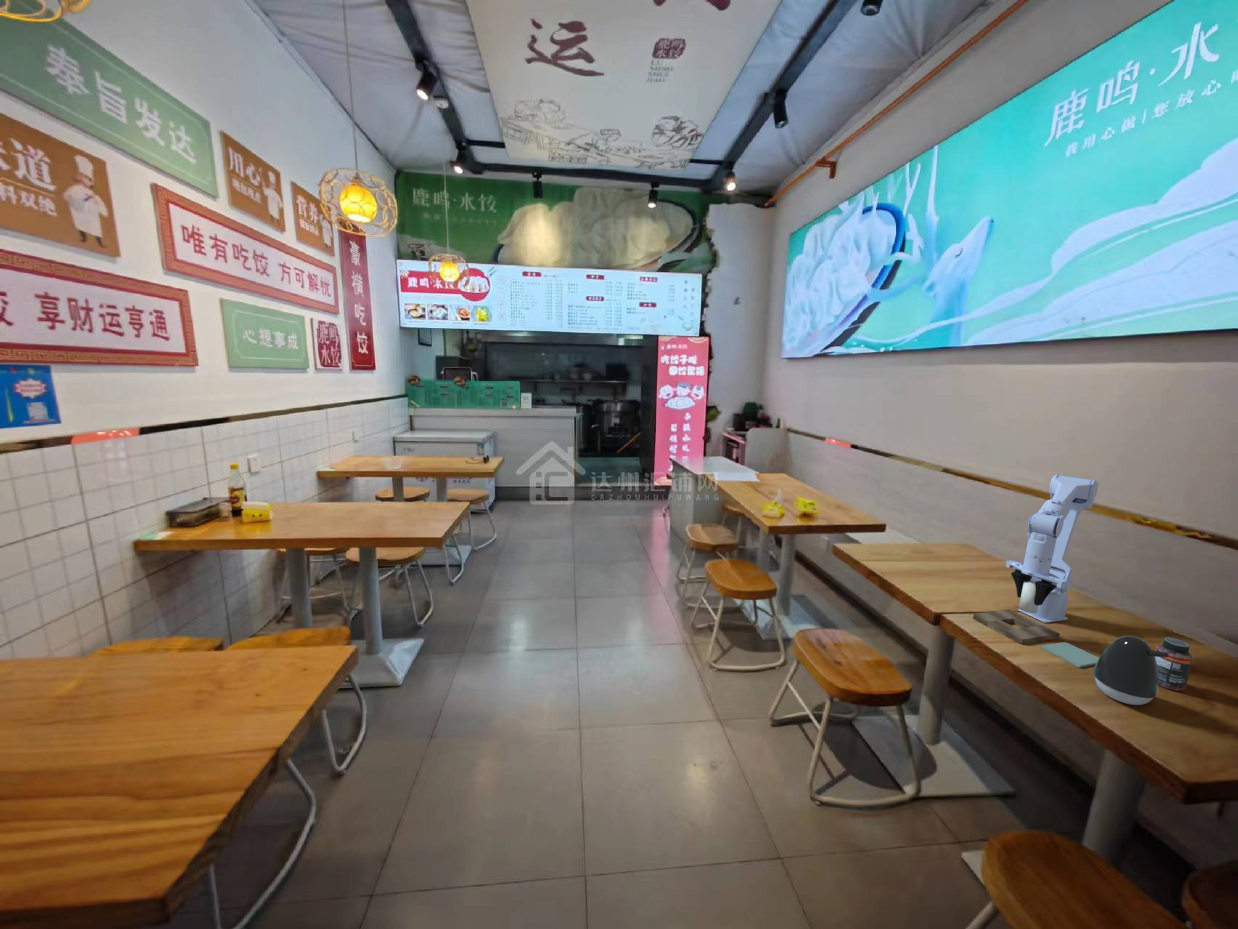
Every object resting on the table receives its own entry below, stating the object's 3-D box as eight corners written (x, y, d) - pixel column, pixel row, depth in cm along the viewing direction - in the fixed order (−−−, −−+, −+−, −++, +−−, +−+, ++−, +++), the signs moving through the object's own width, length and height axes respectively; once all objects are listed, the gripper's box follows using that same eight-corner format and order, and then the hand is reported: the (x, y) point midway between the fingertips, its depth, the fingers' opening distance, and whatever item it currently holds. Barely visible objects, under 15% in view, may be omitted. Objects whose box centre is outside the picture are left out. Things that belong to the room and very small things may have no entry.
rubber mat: (1065, 643, 131) (1065, 641, 131) (1104, 663, 123) (1105, 661, 122) (1040, 647, 129) (1041, 645, 129) (1079, 667, 120) (1079, 665, 120)
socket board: (1008, 613, 147) (1009, 609, 147) (1058, 638, 134) (1060, 633, 134) (972, 618, 144) (973, 614, 143) (1021, 644, 130) (1022, 639, 130)
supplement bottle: (1166, 677, 117) (1178, 635, 115) (1192, 693, 111) (1205, 650, 109) (1140, 675, 118) (1151, 634, 116) (1164, 691, 112) (1176, 648, 110)
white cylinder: (1025, 605, 138) (1030, 580, 136) (1040, 612, 134) (1046, 586, 132) (1015, 607, 137) (1020, 581, 135) (1029, 614, 133) (1035, 587, 131)
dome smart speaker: (1141, 718, 103) (1159, 655, 100) (1080, 688, 112) (1094, 630, 109) (1163, 705, 107) (1180, 645, 104) (1102, 678, 116) (1116, 622, 113)
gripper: (1001, 547, 138) (993, 590, 141) (1056, 567, 124) (1046, 614, 127) (1020, 545, 140) (1011, 588, 142) (1076, 565, 126) (1066, 612, 129)
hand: (1029, 600), depth 135 cm, fingers closed on white cylinder, 4 cm apart
